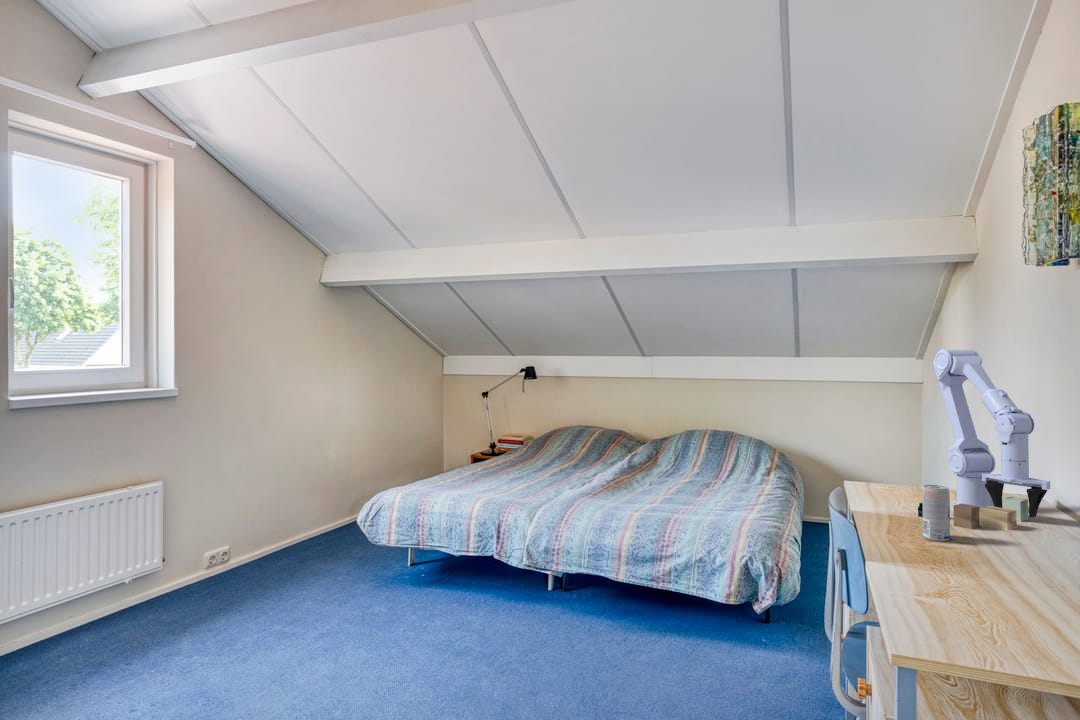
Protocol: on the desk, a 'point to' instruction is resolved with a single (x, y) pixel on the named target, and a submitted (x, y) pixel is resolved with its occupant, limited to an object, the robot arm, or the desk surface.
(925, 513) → the energy drink
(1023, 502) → the sage block
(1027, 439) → the robot arm
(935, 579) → the desk surface
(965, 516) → the walnut block
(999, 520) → the base block
